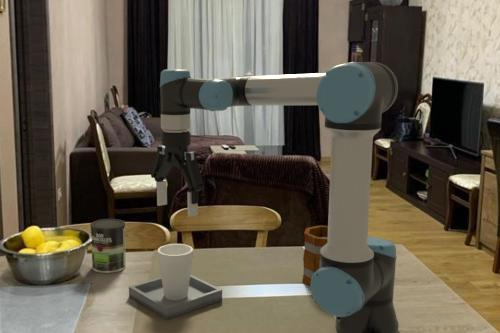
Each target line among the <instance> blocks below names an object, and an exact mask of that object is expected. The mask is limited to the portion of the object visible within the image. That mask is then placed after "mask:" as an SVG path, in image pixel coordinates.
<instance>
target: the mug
mask: <svg viewBox="0 0 500 333" xmlns="http://www.w3.org/2000/svg"><path fill="white" fill-rule="evenodd" d="M303 235H304V236H303V237H304V248H303V249H304V250H303V257H302V258H303V262H302V263H303V275H302V281H301V283H302V284H304V285H306V286H308V287H310V284H311V279H312V277H313V275H314V273H315V272H316V271H317V270H318V269H319V268H320V250H321V248H322V247H323V246H324V245H326V244H327V242H328V225H315V226H311V227H310V226H309V227H306V228H305V230H304V233H303Z"/></svg>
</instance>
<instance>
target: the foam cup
mask: <svg viewBox="0 0 500 333" xmlns="http://www.w3.org/2000/svg"><path fill="white" fill-rule="evenodd" d="M193 259H194V248H193V247H192V246H190V245H189V244H184V243H169V244H164V245H162V246H159V248H157V260H158V263H159V264H158V265H159V272H160V275H161V276H160V277H161V278H162V285H163V291H164V296H165V298H167V299H170V300H180V299H183V298H186V297H187V295H188V289H189V281H190V274H191V272H192V271H191V270H192V265H193Z"/></svg>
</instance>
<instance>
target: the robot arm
mask: <svg viewBox="0 0 500 333" xmlns="http://www.w3.org/2000/svg"><path fill="white" fill-rule="evenodd" d="M159 80H160V81H159V91H160V92H159V95H160V128H161V130H162V131H161V134H160V137H161V138H160V139H161V142H160V143H161V145H157V147H156V157H155V159H154V163H153V167H152V170H151V173H150V177H151V178H152V179H153V178H154V181H155V184H156V186H155V187H156V198H157V199H156V203H157V204H156V205H157V206H158V207H160V206H166V205H168V187H167V184H168V182H167V178H166V177H167V176H168V173H169V172H170V170H171V169H172V167H173V166H174V167H175V168H177V170H179V171H180V172H181V175H182V176H183V179H184V181H185V183H186V185H187V187H188V190H187V192H186V193H187V217H188V218H189V217H190V218H191V217H194V216H198V215H199V205H198V204H199V202H200V201H199V197H200V196H199V195H200V194H199V192H200V191H202V190H204V189H205V184H204V181H203V177H202V174H201V170H200V167H199V163H198V160H197V152H196V151H189V149H188V147H189V146H190V145H191V143H192V140H191V135H192V134H191V133H192V132H191V131H190V129H191V109H195V110H205V111H210V112H217V111H219V112H221V111H222V112H223V111H226V110H227V109H228V108H230V107H247V106H248V107H249V106H250V107H251V106H318V109H319V110H320V112H321V113H322V115H323V116H324V129H325V130H326V131H327V132H328V133H329V134H330V137H331V138H330V139H331V142H330V144H331V146H330V168H329V190H328V191H329V195H328V196H329V197H328V198H329V199H328V219H327V220H328V221H327V222H328V223H327V226H328V242H327V244H326V245H324V246H323V247H322V248H321V250H320V268H319V269H318V270H317V271H316V272H315V273H314V275H313V277H312V279H311V284H310V286H309V287H310V292H311V296H312V297H313V299H314V302H315V303H316V304H318V306H320V309H321V310H322V311H324V312H326V313H327V314H329V315H331V316H334V317H335V330H336V331H337V333H399V327H400V326H399V321H398V317H397V313H396V310H395V305H394V291H395V278H396V276H395V275H396V264H397V258H398V257H397V247H396V244H394V243H393V242H392V241H389V240H387V239H384V238H380V237H374V236H368V235H369V218H370V217H369V216H370V214H369V213H370V199H371V182H372V180H371V177H372V161H373V140H374V136H376V135H377V134H378V133H379V131H381V129H382V114H383V113H384V112H386V111H388V110H389V109H390V107H392V105H393V104H394V103H395V101H396V99H397V97H398V91H399V83H398V80H397V77H396V76H395V74H394V71H392V70H391V68H389V67H388V66H387V65H385V64H383V63H381V62H377V61H363V62H362V61H361V62H358V61H357V62H354V61H352V62H344V63H342V64H341V63H340V64H338V65H335V66H333V67H331V68H330V69H328V70H327V71H326V72H321V73H320V72H315V73H296V74H292V73H291V74H277V75H276V74H275V75H273V74H272V75H253V76H250V75H249V76H246V75H241V76H232V77H214V78H192V76H191V72H190V71H189V70H188V69H185V68H184V69H183V68H181V69H177V68H175V69H174V68H171V69H170V68H169V69H168V68H167V69H163V70H162V71H161V72H160V79H159Z"/></svg>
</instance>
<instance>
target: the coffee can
mask: <svg viewBox="0 0 500 333" xmlns="http://www.w3.org/2000/svg"><path fill="white" fill-rule="evenodd" d="M90 229H91V230H90V236H91V237H92V239H93V240H92V241H91V264H92V266H91V268H92V270H93V271H94V272H96V273H99V274H101V273H102V274H115V273H117V272H121V271H124V270H125V269H126V268H127V263H126V260H127V259H126V222H125V220H122V219H118V218H103V219H97V220H94V221H92V222H91V223H90Z"/></svg>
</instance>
